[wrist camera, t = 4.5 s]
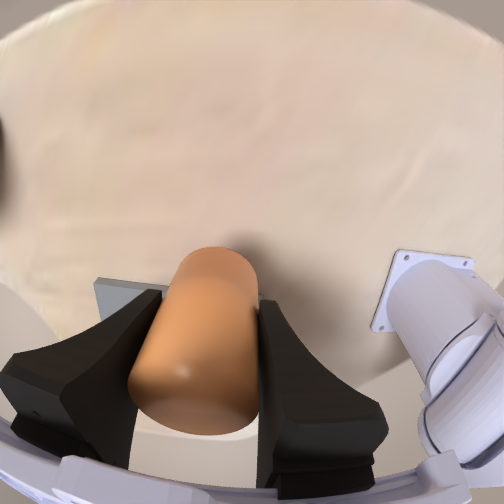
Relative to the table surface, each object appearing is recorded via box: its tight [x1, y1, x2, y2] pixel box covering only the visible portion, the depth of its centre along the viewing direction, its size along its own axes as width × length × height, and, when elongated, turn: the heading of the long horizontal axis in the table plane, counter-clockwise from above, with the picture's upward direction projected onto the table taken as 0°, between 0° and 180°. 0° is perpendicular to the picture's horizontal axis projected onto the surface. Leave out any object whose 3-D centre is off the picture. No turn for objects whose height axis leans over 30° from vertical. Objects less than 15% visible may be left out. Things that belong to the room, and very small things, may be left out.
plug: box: [127, 247, 260, 435], centre depth 11 cm, size 4×4×7 cm
